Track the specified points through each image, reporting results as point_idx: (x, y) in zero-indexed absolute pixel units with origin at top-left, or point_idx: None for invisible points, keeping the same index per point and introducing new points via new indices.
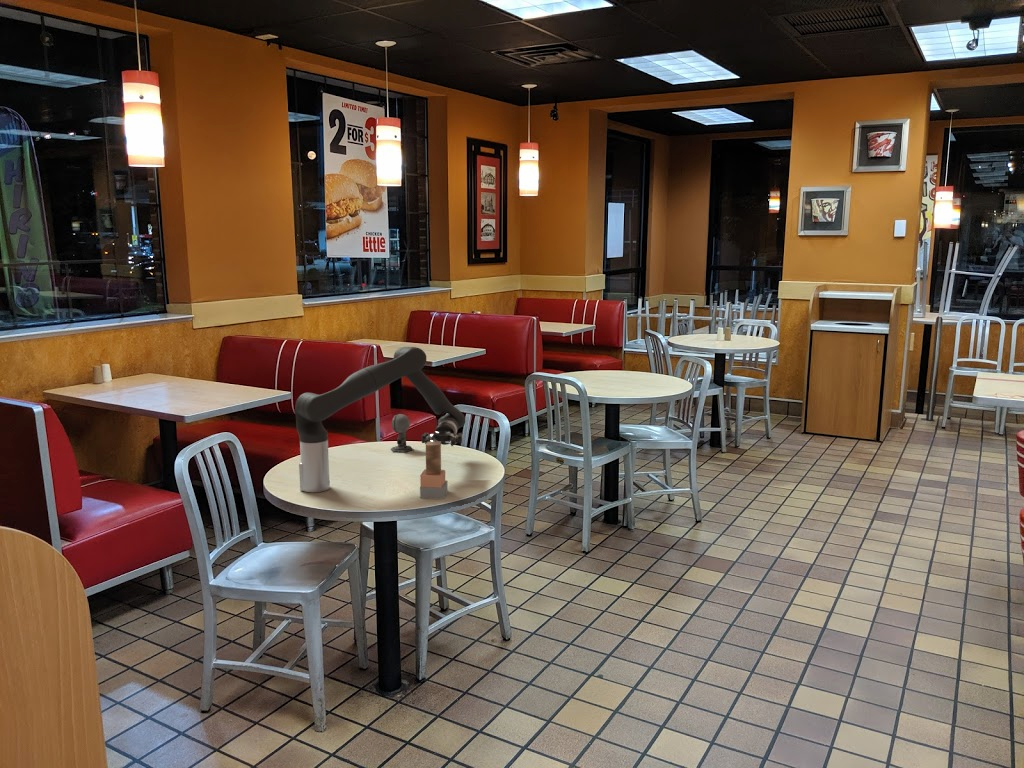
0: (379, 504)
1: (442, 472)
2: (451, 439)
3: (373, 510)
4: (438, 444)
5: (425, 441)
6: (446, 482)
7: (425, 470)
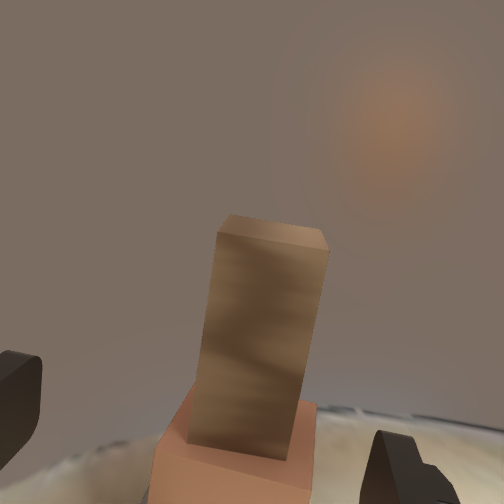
0: (456, 474)
1: (183, 413)
2: (12, 369)
3: (443, 430)
4: (237, 219)
5: (429, 480)
6: (143, 498)
7: (301, 464)
